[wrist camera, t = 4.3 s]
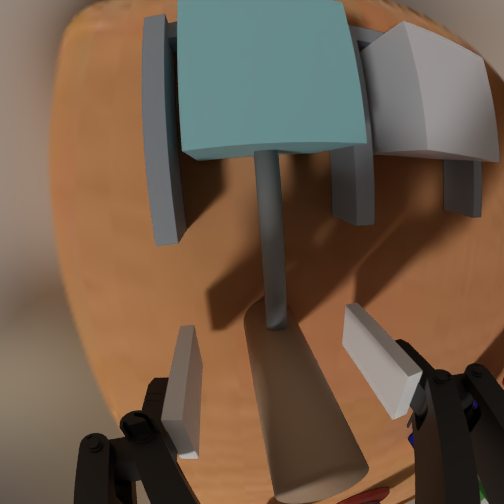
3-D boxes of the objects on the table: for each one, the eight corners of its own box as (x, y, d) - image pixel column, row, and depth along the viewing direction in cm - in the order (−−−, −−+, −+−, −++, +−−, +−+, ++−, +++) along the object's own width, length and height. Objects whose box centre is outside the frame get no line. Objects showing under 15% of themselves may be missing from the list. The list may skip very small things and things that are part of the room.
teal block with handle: (192, 58, 12) (156, -97, 1) (301, 54, 12) (407, -68, 2) (222, 347, 16) (231, 513, 6) (315, 334, 17) (394, 474, 6)
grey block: (348, 60, 13) (403, 20, 7) (422, 77, 13) (482, 58, 7) (360, 154, 14) (427, 149, 9) (432, 159, 15) (499, 162, 9)
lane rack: (156, 42, 11) (144, 18, 8) (438, 65, 13) (464, 56, 10) (168, 232, 14) (155, 246, 11) (452, 209, 16) (480, 217, 13)
